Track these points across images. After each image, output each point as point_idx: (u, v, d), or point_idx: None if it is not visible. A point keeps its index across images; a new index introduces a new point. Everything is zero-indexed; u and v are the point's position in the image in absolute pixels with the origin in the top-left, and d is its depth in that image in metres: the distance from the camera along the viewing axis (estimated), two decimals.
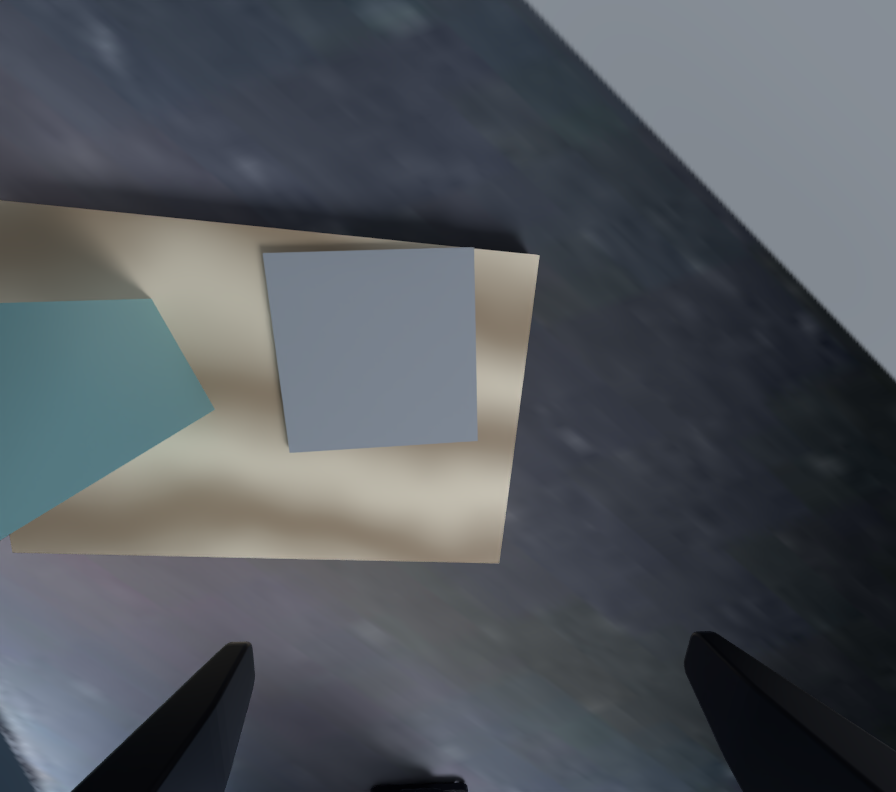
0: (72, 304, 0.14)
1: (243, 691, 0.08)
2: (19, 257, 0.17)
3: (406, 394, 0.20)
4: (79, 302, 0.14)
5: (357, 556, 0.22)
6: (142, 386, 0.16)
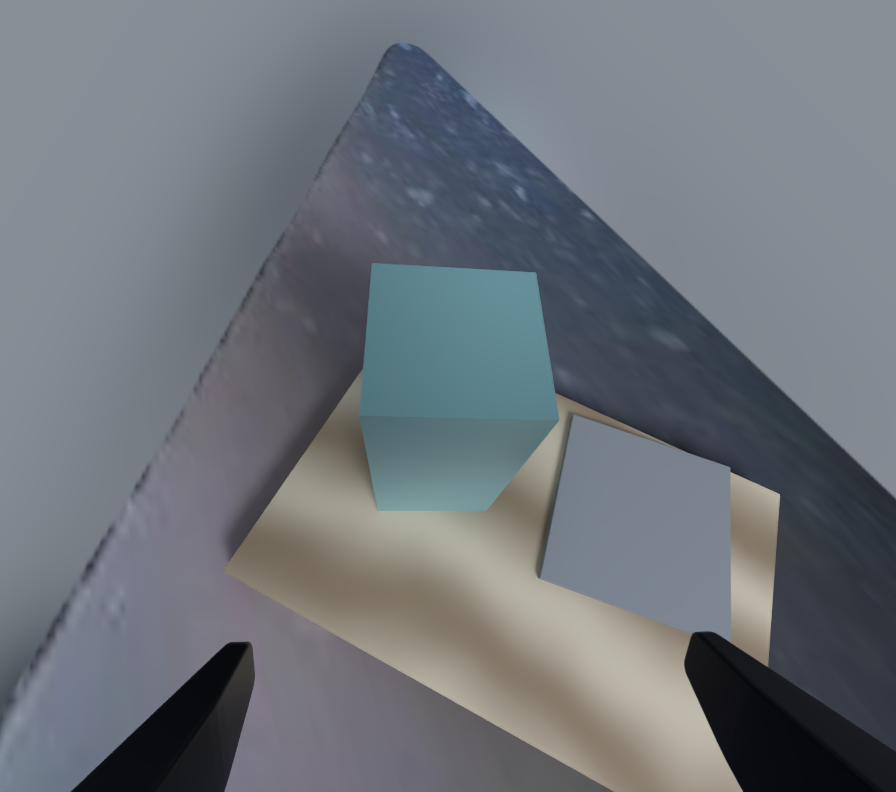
0: None
1: (243, 691, 0.08)
2: None
3: (663, 565, 0.20)
4: None
5: (567, 758, 0.17)
6: None
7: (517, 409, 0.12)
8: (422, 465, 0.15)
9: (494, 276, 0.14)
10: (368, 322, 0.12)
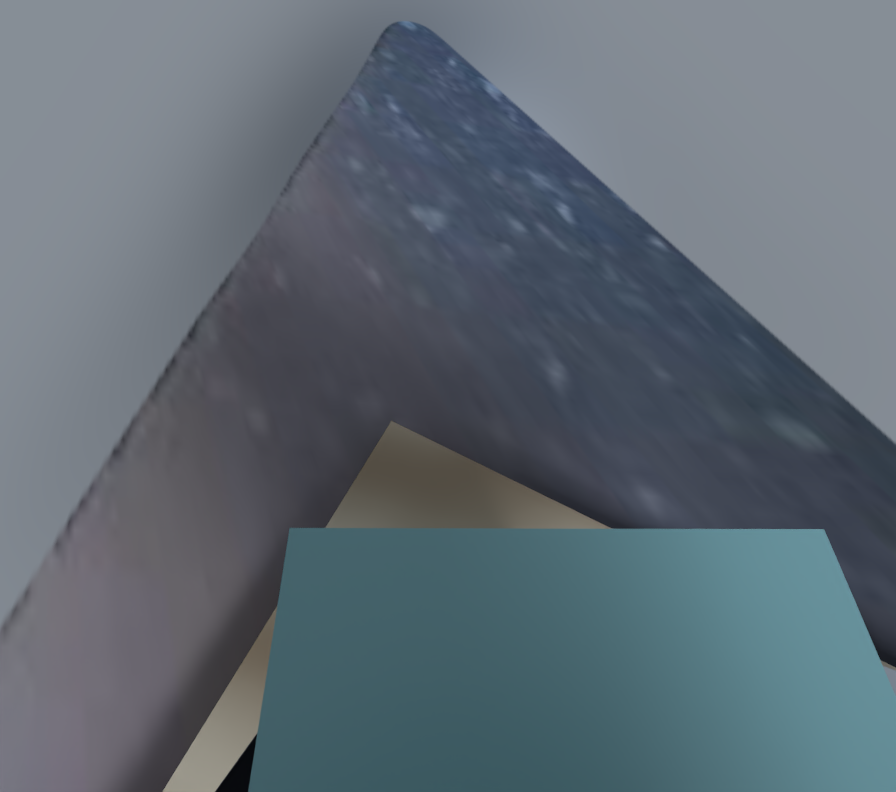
0: None
1: None
2: (415, 494, 0.15)
3: None
4: None
5: None
6: None
7: None
8: None
9: (704, 558, 0.04)
10: None
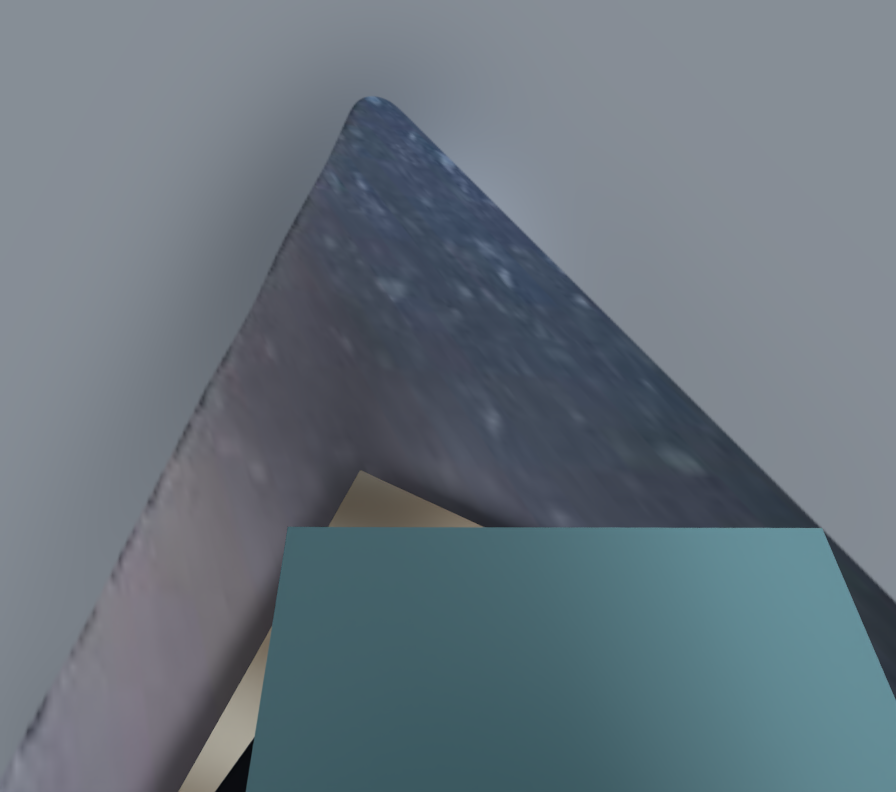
0: None
1: None
2: (378, 526, 0.21)
3: None
4: None
5: None
6: None
7: None
8: None
9: (702, 556, 0.04)
10: None
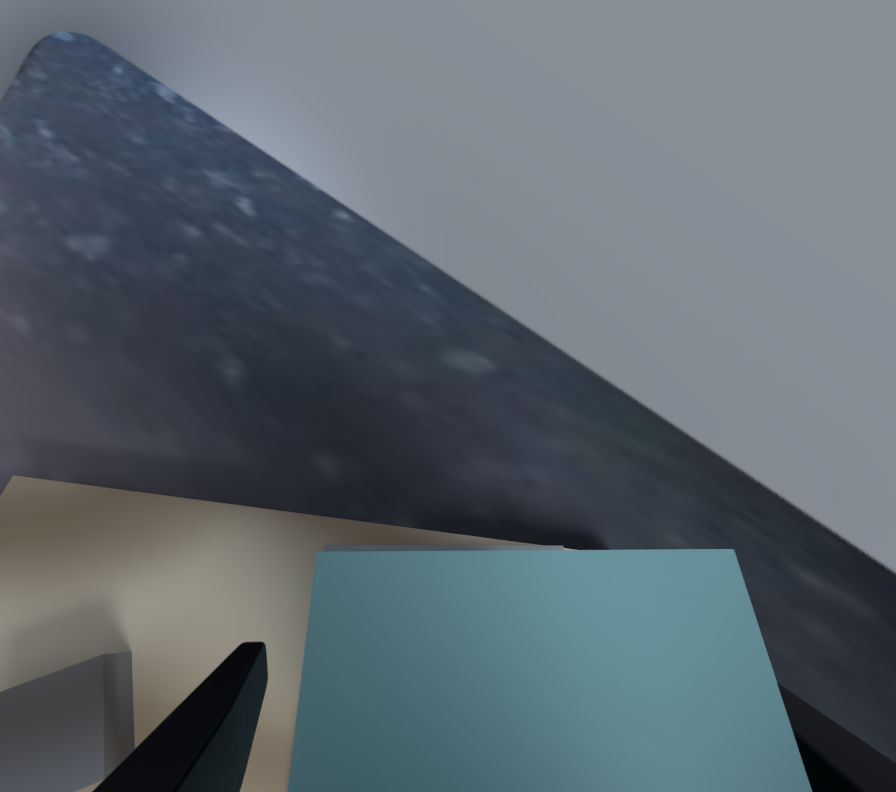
0: None
1: (258, 690, 0.08)
2: (40, 542, 0.15)
3: None
4: None
5: None
6: None
7: None
8: None
9: (636, 572, 0.05)
10: None
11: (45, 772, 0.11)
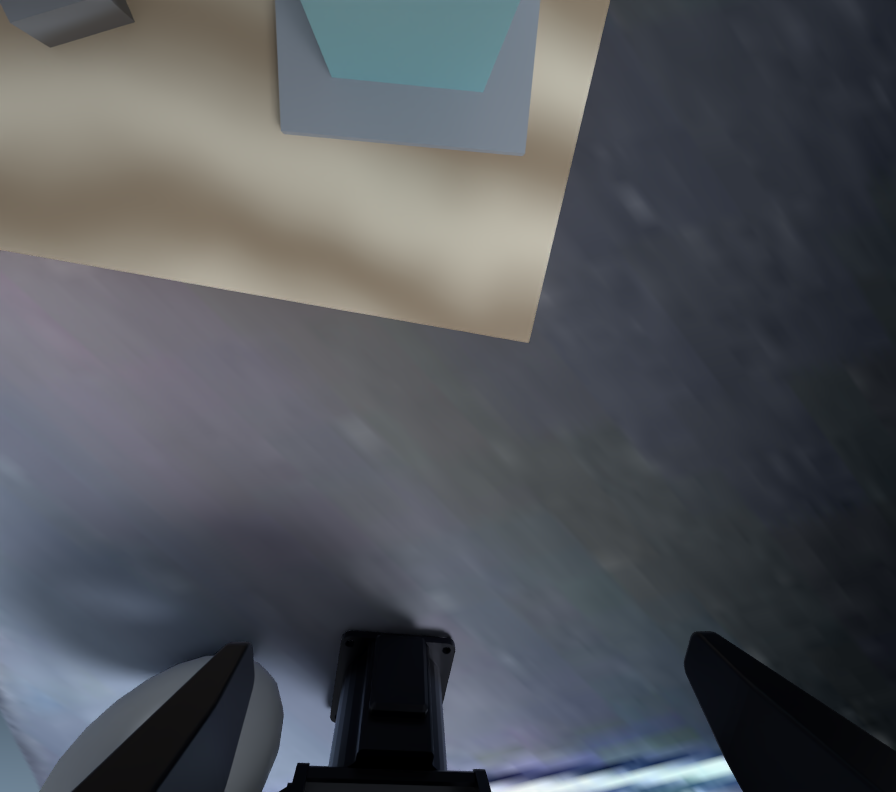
0: None
1: (243, 691, 0.08)
2: None
3: None
4: None
5: (354, 307, 0.18)
6: None
7: None
8: None
9: None
10: None
11: None
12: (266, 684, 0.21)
